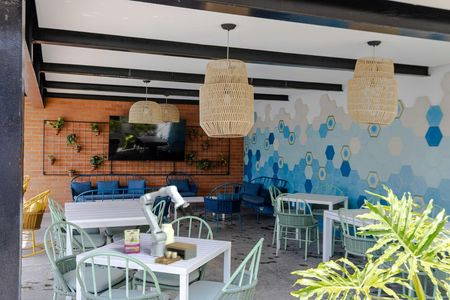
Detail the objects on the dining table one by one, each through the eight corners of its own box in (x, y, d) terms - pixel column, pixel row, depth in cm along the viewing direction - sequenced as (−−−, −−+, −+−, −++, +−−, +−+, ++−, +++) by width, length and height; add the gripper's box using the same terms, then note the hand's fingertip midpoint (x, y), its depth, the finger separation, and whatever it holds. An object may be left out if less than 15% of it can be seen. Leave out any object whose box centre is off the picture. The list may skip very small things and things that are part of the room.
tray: (155, 262, 274) (155, 254, 274) (168, 258, 286) (168, 250, 286) (166, 264, 269) (166, 256, 269) (180, 259, 281) (180, 252, 281)
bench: (165, 256, 289) (165, 244, 289) (176, 253, 299) (176, 241, 299) (186, 260, 279) (186, 248, 279) (196, 256, 290) (196, 244, 290)
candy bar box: (140, 251, 305) (140, 229, 305) (140, 253, 300) (140, 230, 300) (124, 252, 302) (124, 229, 302) (124, 254, 297) (124, 230, 297)
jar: (169, 241, 338) (169, 222, 338) (176, 243, 330) (176, 224, 330) (157, 243, 331) (157, 224, 331) (163, 245, 323) (163, 226, 323)
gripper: (174, 196, 275) (185, 212, 269) (188, 195, 287) (199, 210, 281) (168, 203, 277) (179, 219, 271) (182, 202, 289) (193, 217, 283)
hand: (189, 215), depth 276 cm, fingers open, 7 cm apart
